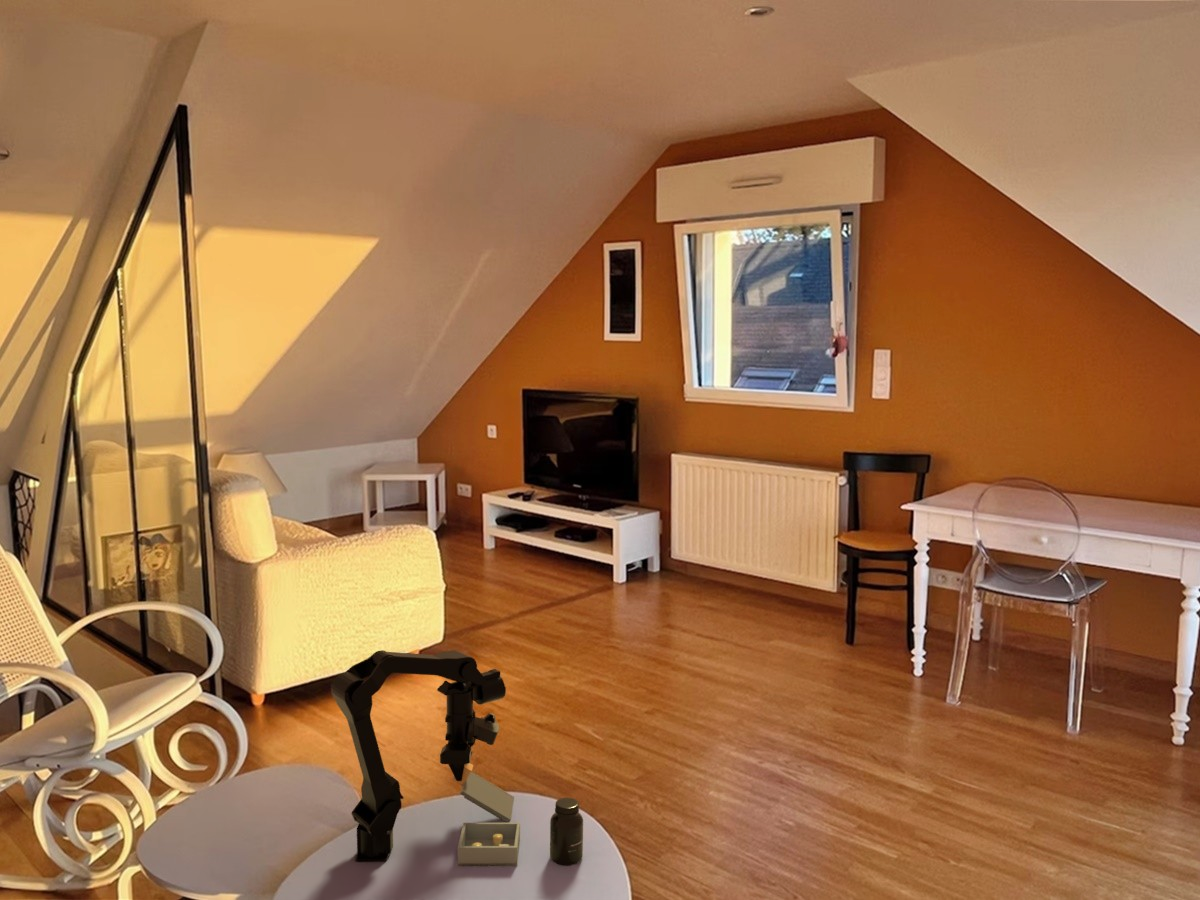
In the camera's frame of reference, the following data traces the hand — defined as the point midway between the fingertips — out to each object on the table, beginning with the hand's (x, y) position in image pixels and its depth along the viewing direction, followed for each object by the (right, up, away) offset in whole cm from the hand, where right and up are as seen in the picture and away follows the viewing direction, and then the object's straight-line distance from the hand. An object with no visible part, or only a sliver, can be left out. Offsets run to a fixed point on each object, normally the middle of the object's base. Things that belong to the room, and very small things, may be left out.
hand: (460, 777), depth 208 cm
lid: (+4, -5, +1) cm, 6 cm away
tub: (+8, -12, -12) cm, 18 cm away
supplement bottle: (+24, -12, -13) cm, 30 cm away
